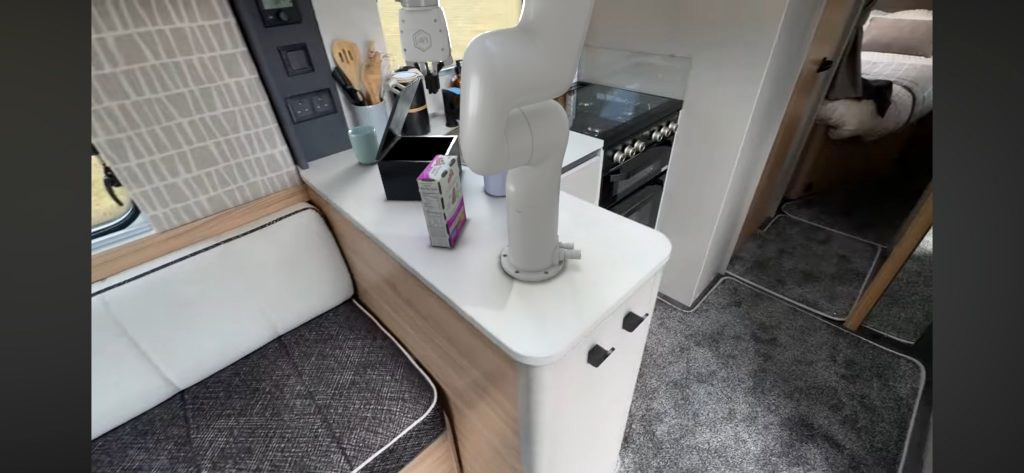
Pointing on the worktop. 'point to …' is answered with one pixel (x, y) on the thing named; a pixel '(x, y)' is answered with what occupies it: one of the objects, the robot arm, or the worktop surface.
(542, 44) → the robot arm
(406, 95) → the bin lid
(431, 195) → the candy bar box
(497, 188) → the soap bottle
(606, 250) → the worktop surface
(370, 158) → the cup
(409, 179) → the bin
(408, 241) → the worktop surface
